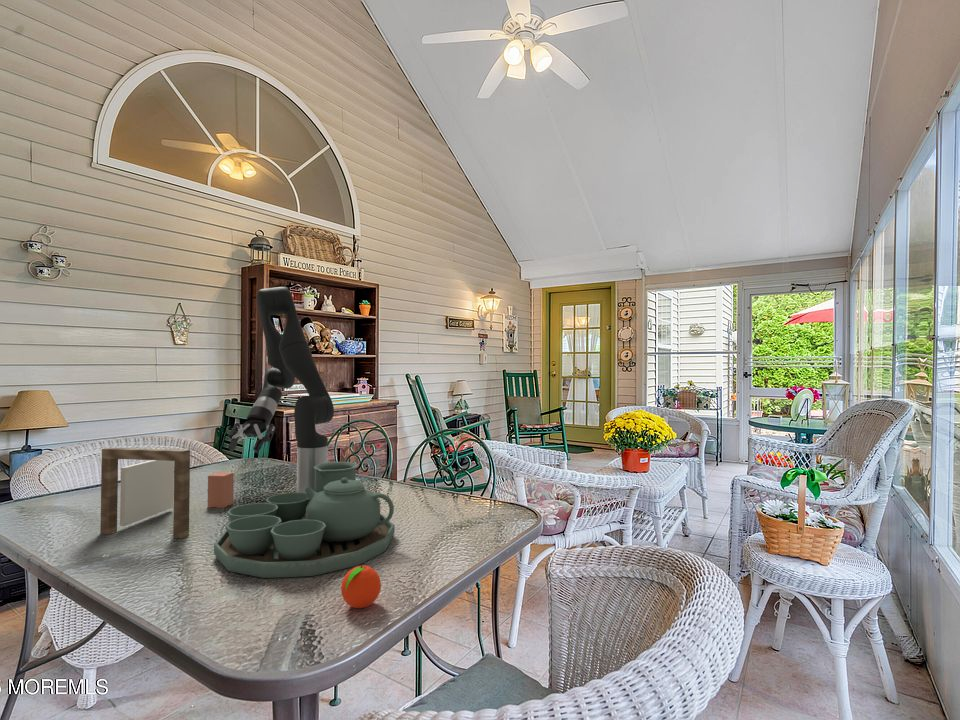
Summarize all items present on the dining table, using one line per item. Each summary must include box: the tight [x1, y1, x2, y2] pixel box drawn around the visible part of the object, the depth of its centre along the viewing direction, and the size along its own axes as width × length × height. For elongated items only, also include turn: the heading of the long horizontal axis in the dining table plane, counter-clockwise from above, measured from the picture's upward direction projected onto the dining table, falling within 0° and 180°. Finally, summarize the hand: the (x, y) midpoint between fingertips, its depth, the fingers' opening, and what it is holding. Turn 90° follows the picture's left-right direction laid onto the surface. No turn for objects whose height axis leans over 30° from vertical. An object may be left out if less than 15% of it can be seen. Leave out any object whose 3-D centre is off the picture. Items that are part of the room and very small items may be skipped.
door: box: [119, 460, 174, 527], centre depth 137 cm, size 17×2×15 cm, turn 173°
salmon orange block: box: [207, 471, 235, 509], centre depth 152 cm, size 5×5×10 cm
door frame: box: [99, 446, 191, 539], centre depth 125 cm, size 22×2×21 cm, turn 83°
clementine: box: [340, 565, 382, 609], centre depth 88 cm, size 8×7×7 cm
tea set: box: [213, 461, 395, 579], centre depth 119 cm, size 40×40×16 cm
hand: (243, 450), depth 163 cm, fingers open, 8 cm apart
